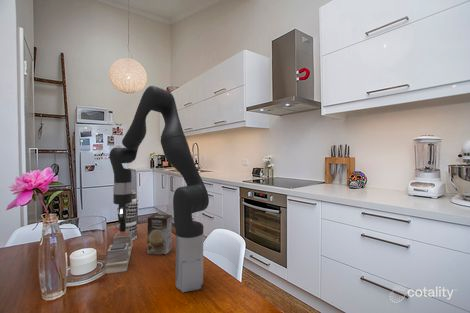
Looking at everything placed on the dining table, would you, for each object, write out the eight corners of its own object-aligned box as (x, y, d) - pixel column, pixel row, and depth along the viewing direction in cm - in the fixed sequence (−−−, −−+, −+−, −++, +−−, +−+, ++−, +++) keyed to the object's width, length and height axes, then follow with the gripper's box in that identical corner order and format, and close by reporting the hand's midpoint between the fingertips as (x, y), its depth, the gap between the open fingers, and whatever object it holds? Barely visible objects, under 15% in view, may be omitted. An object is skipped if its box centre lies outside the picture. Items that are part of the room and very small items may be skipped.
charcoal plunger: (123, 259, 89) (123, 247, 89) (111, 261, 87) (111, 248, 87) (125, 254, 93) (125, 243, 93) (113, 256, 92) (113, 244, 92)
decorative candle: (119, 236, 123) (119, 188, 122) (138, 234, 125) (138, 188, 125) (116, 242, 114) (116, 191, 114) (136, 240, 117) (136, 191, 116)
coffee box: (146, 254, 101) (146, 217, 101) (153, 248, 108) (153, 213, 107) (166, 255, 100) (166, 218, 100) (172, 249, 107) (172, 214, 106)
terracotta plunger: (127, 243, 102) (127, 233, 102) (116, 244, 101) (116, 234, 101) (128, 240, 106) (128, 229, 106) (118, 241, 105) (118, 230, 105)
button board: (126, 270, 87) (126, 250, 87) (105, 273, 84) (105, 253, 84) (132, 246, 109) (132, 230, 109) (115, 248, 107) (115, 232, 107)
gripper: (130, 194, 98) (130, 235, 98) (133, 189, 111) (133, 225, 111) (110, 195, 96) (110, 237, 96) (115, 190, 108) (115, 227, 108)
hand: (122, 231), depth 103 cm, fingers closed
